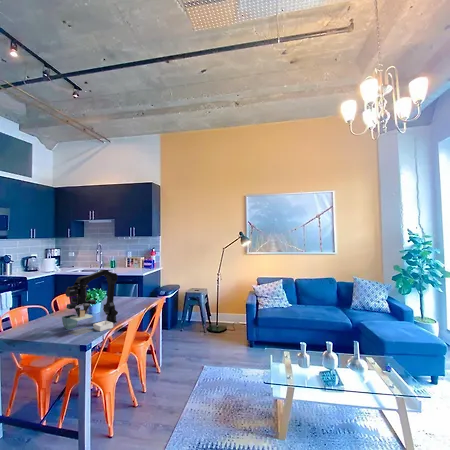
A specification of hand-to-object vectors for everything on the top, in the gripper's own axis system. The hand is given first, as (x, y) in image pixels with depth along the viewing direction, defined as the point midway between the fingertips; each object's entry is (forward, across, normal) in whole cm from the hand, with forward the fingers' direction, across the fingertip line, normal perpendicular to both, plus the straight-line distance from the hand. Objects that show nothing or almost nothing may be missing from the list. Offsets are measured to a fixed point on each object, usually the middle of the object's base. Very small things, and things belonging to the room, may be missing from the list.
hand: (81, 316), depth 199 cm
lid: (+1, 0, 0) cm, 1 cm away
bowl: (+11, -13, +7) cm, 19 cm away
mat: (+11, 0, 0) cm, 11 cm away
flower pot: (+12, +1, -15) cm, 19 cm away
